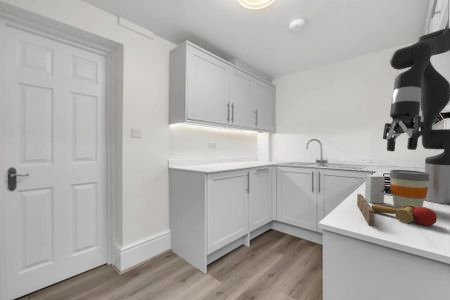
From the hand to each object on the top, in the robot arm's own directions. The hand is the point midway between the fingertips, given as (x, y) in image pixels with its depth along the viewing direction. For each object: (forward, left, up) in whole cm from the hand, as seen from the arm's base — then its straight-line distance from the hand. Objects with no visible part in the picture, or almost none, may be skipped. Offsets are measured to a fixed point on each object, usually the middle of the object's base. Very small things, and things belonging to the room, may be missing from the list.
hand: (400, 150), depth 69 cm
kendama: (-5, +2, -25) cm, 26 cm away
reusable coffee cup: (-23, +9, -25) cm, 35 cm away
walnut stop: (-5, -9, -25) cm, 27 cm away
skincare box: (-26, -2, -25) cm, 36 cm away
